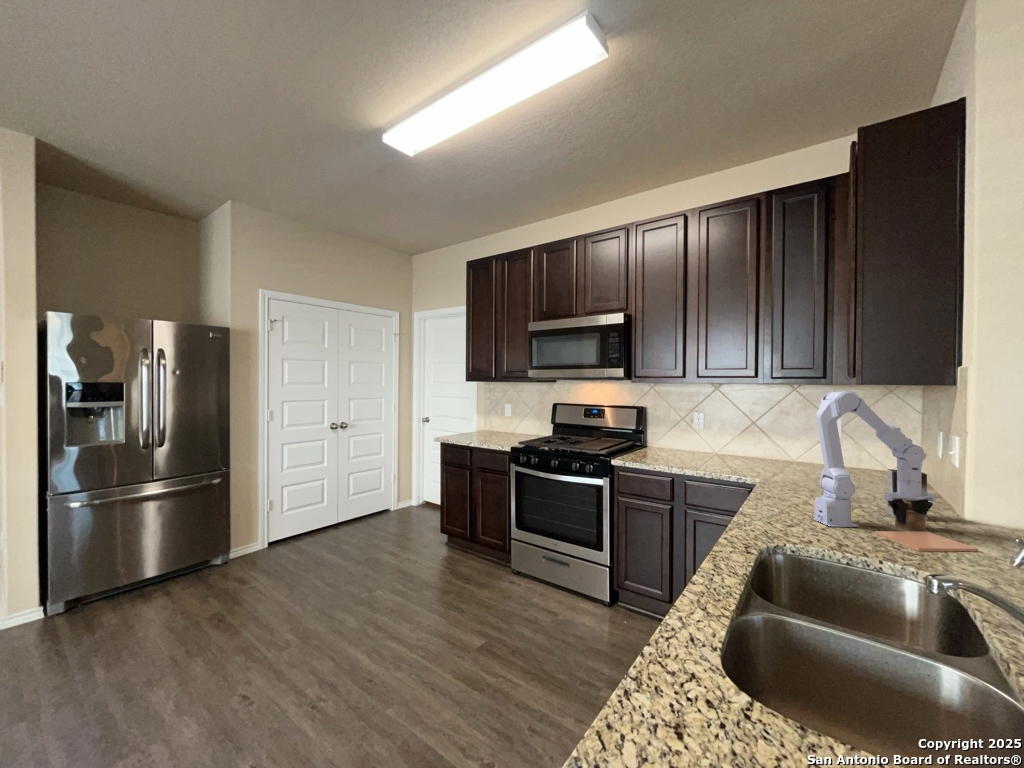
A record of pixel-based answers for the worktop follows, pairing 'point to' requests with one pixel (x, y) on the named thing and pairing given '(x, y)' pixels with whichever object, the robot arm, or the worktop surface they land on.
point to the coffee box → (893, 489)
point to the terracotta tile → (925, 541)
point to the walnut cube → (912, 521)
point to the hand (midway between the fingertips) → (909, 522)
